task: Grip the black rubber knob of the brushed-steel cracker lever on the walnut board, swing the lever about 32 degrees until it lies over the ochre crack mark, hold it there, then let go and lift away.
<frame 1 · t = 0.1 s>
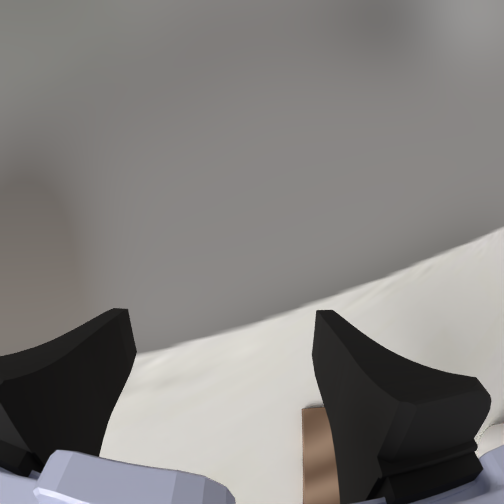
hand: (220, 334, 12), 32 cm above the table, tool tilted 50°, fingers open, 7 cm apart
cracker board: (368, 463, 34), on the table
cylindrical container: (492, 445, 33), on the table
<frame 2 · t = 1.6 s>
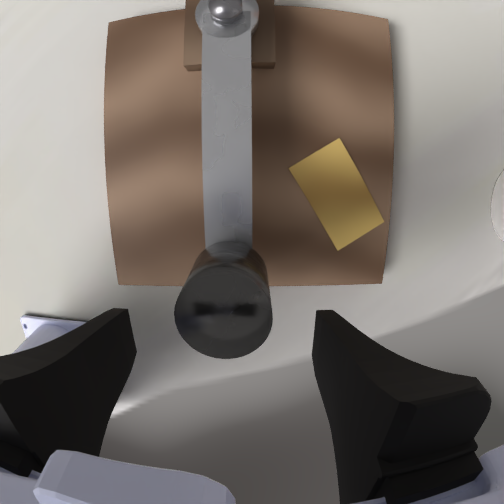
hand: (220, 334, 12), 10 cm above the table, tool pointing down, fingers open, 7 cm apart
lever: (223, 144, 13), point 6 cm above the table, hinge at 0.0°
cracker board: (248, 142, 19), on the table
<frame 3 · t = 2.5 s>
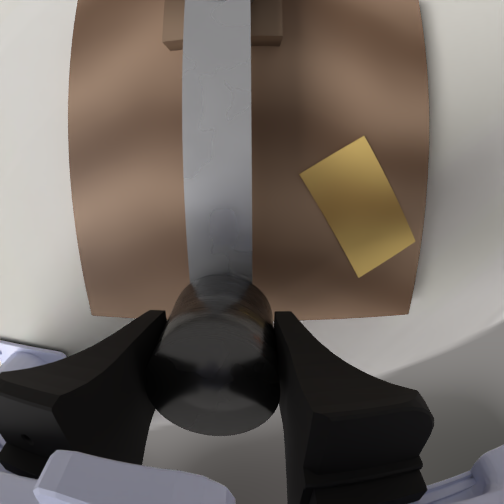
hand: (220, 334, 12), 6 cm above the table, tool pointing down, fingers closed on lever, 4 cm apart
lever: (211, 142, 9), point 6 cm above the table, hinge at 0.0°, touching gripper
cracker board: (247, 140, 15), on the table
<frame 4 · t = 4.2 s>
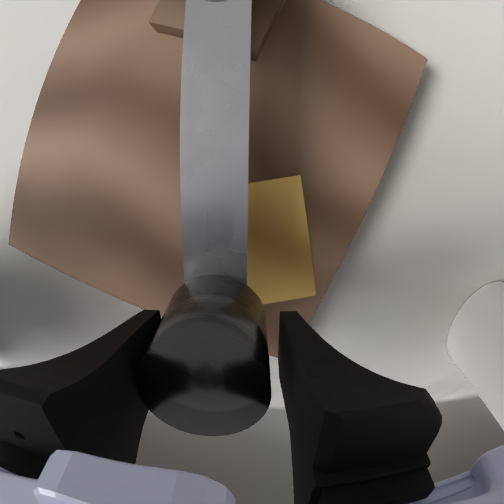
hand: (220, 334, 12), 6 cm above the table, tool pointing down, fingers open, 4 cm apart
lever: (207, 143, 9), point 6 cm above the table, hinge at 21.5°, touching gripper
cracker board: (192, 139, 15), on the table
cylindrical container: (482, 324, 19), on the table
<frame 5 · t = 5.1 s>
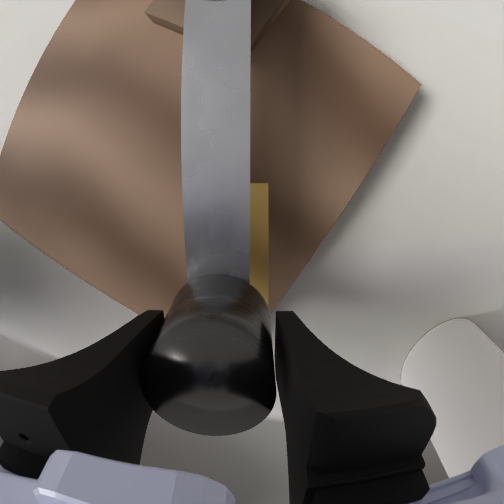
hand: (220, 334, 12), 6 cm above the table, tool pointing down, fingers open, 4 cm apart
lever: (209, 142, 9), point 6 cm above the table, hinge at 31.3°, touching gripper
cracker board: (171, 132, 15), on the table
cylindrical container: (441, 358, 20), on the table
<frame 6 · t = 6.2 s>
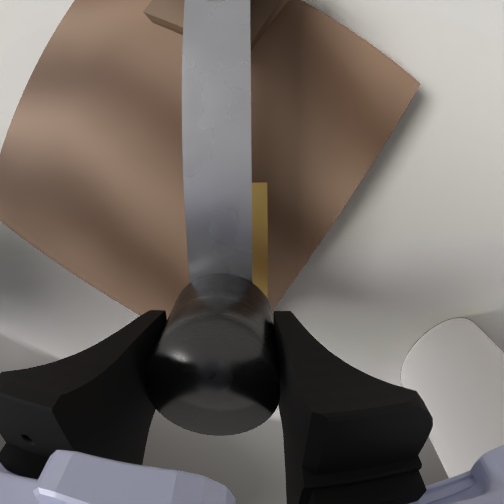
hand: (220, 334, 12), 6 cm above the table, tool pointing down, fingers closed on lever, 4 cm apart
lever: (210, 141, 9), point 6 cm above the table, hinge at 32.0°, touching gripper
cracker board: (170, 132, 15), on the table
cylindrical container: (441, 358, 20), on the table
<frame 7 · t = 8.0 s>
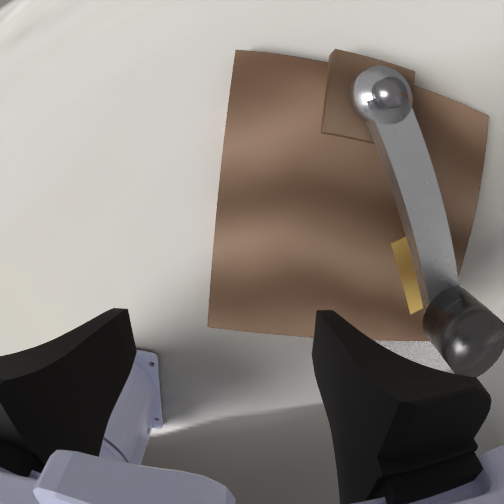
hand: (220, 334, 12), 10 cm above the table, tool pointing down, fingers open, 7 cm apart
lever: (442, 227, 14), point 6 cm above the table, hinge at 32.0°
cracker board: (356, 210, 21), on the table
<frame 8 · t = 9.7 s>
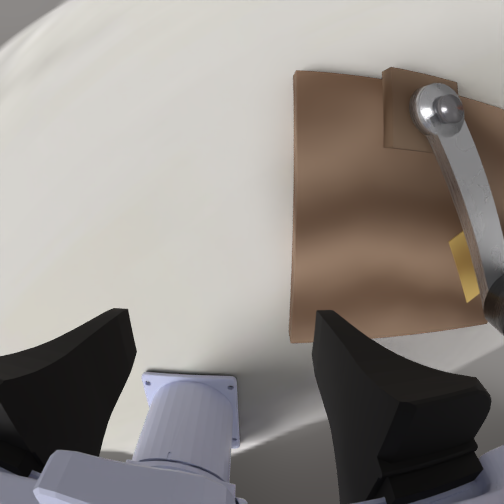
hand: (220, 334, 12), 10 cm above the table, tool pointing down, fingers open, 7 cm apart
lever: (499, 223, 15), point 6 cm above the table, hinge at 32.0°
cracker board: (415, 214, 21), on the table
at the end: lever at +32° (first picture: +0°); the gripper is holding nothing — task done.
